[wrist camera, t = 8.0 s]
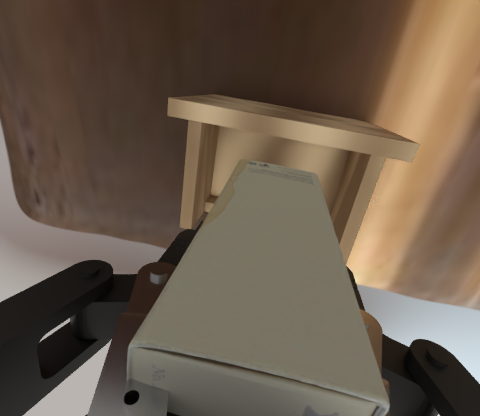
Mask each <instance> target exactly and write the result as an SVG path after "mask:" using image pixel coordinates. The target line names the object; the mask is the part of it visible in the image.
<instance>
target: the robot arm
mask: <svg viewBox="0 0 480 416" xmlns="http://www.w3.org/2000/svg"><path fill="white" fill-rule="evenodd" d="M203 222H204V221H202V222H201V223H200V224H199V226H198V227H197V229H196V230H192V229H187V230H185V231H183V232H181V233H179V234H178V236H177V237H176V238H175V241H173V242H172V244H171V246H169V248H168V249H167V250H166V252H165V253H164V254H163V255H162V257H161V258H160V259H159V261H158V262H154V263H149V264H147V265H145V266H143V267H142V268H141V269H140V270H139V271H138V274H129V275H128V274H123V275H122V274H113V268H112V266H111V265H110V264H108V263H107V262H105V261H101V260H88V261H83V262H80V263H77V264H75V265H73V266H71V267H69V268H67V269H65V270H63V271H61V272H59V273H57V274H55V275H53V276H51V277H49V278H47V279H45V280H43V281H41V282H40V283H37V284H35V285H34V286H32V287H30V288H28V289H26V290H24V291H22V292H20V293H18V294H16V295H14V296H12V297H10V298H8V299H6V300H4V301H2V302H0V416H22V415H24V414H25V413H26V412H27V411H28V410H29V409H31V408H32V407H33V406H34V405H35V404H37V403H38V402H39V401H40V400H41V399H42V398H44V397H45V396H46V395H47V394H48V393H50V392H51V391H52V390H53V389H54V388H55V387H57V386H58V385H59V384H60V383H61V382H62V381H64V380H65V379H66V378H67V377H68V376H70V375H71V374H72V373H73V372H74V371H75V370H77V369H78V368H79V367H80V366H81V365H83V364H84V363H85V362H86V361H87V360H88V359H90V358H91V357H92V356H93V355H94V354H95V353H97V352H98V351H99V350H100V349H101V348H103V347H104V346H105V345H106V344H107V343H108V342H109V341H110V340H111V339H112V341H111V344H110V347H109V350H108V353H107V357H106V360H105V363H104V366H103V369H102V372H101V375H100V378H99V381H98V384H97V387H96V391H95V394H94V397H93V400H92V404H91V406H90V409H89V412H88V414H87V415H85V416H180V415H176V414H173V413H170V412H167V407H168V396H169V391H167V390H163V389H160V388H157V387H154V386H151V385H148V384H145V383H142V382H139V381H137V380H134V379H129V380H126V378H127V355H128V347H129V344H130V342H131V341H132V339H133V337H134V336H135V334H136V332H137V331H138V329H139V328H140V326H141V325H142V323H143V321H144V320H145V318H146V317H147V315H148V314H149V312H150V310H151V309H152V307H153V306H154V304H155V302H156V301H157V299H158V297H159V296H160V294H161V292H162V291H163V289H164V287H165V286H166V284H167V282H168V280H169V279H170V277H171V276H172V274H173V272H174V271H175V269H176V267H177V266H178V264H179V262H180V261H181V259H182V257H183V255H184V254H185V252H186V250H187V249H188V247H189V245H190V244H191V242H192V240H193V239H194V237H195V235H196V234H197V232H198V230H199V229H200V227H201V226H202V224H203ZM346 267H347V266H346ZM347 271H348V274H349V277H350V280H351V284H352V287H353V290H354V293H355V296H356V299H357V302H358V305H359V309H360V312H361V316H362V318H363V321H364V324H365V327H366V331H367V333H368V336H369V340H370V343H371V346H372V349H373V352H374V355H375V358H376V361H377V364H378V367H379V371H380V374H381V378H382V381H383V384H384V387H385V390H386V393H387V396H388V399H389V404H390V407H389V411H388V412H387V414H386V415H385V416H437V415H438V414H439V415H440V416H480V384H479V383H478V382H477V381H476V380H475V378H474V377H472V375H471V374H470V373H469V372H468V371H467V370H466V368H465V367H464V366H463V365H462V364H461V363H460V362H459V361H458V360H457V359H456V357H455V356H454V355H453V354H451V353H450V352H449V351H447V350H446V349H445V348H443V347H442V346H440V345H438V344H436V343H434V342H431V341H429V340H424V339H417V340H414V341H413V342H412V343H411V345H410V347H408V346H405V345H403V344H401V343H399V342H397V341H395V340H393V339H391V338H389V337H387V336H385V335H384V334H382V328H381V326H380V324H379V323H378V321H377V320H376V319H375V318H374V317H373V316H372V315H370V314H369V313H367V312H365V309H364V306H363V303H362V300H361V297H360V294H359V291H358V290H357V285H356V283H355V279H354V276H353V273H352V272H351V270H350V269H349V268H348V267H347ZM68 318H70V322H69V323H67V324H66V325H64V326H63V327H61V328H60V329H58V330H57V331H55V332H54V333H53V334H52V335H50V336H48V337H47V338H45V339H44V340H42V341H41V342H39V341H40V340H41V339H42V337H43V336H44V335H45V334H46V333H48V332H49V331H51V330H52V329H54V328H55V327H57V326H58V325H60V324H61V323H63V322H64V321H66V320H67V319H68Z"/></svg>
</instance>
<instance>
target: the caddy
mask: <svg viewBox="0 0 480 416" xmlns="http://www.w3.org/2000/svg"><path fill="white" fill-rule="evenodd" d="M167 116H171V117H177V118H182V119H187V120H189V122H188V134H187V146H186V158H185V170H184V182H183V194H182V206H181V218H180V227H181V228H186V229H192V228H193V226H194V225H195V223H196V222H197V221H198V219H199V218H200V216H201V215H202V214H203V212H204V211H206V212H210V210H211V208H212V207H213V205H214V203H215V202H216V200H217V198H218V197H219V195H220V193H221V191H222V190H223V188H224V186H225V185H226V183H227V181H228V179H229V178H230V176H231V174H232V173H233V171H234V169H235V167H236V166H237V164H238V162H239V161H240V160H241V159H247V160H253V161H259V162H265V163H270V164H275V165H280V166H285V167H290V168H294V169H299V170H304V171H308V172H313V173H316V174H317V176H318V179H319V182H320V185H321V189H322V192H323V195H324V198H325V201H326V204H327V208H328V211H329V214H330V217H331V220H332V224H333V227H334V231H335V234H336V236H337V239H338V243H339V246H340V249H341V252H342V255H343V258H344V261H345V264H346V263H347V260H348V258H349V255H350V252H351V250H352V247H353V244H354V242H355V239H356V236H357V233H358V231H359V228H360V225H361V223H362V220H363V217H364V215H365V212H366V209H367V207H368V204H369V201H370V199H371V196H372V193H373V191H374V188H375V185H376V183H377V180H378V177H379V175H380V172H381V169H382V167H383V164H384V161H385V159H386V158H392V159H397V160H402V161H407V162H413V159H414V157H415V154H416V152H417V150H418V147H419V145H420V144H418V143H416V142H413V141H411V140H409V139H407V138H404V137H402V136H400V135H397V134H395V133H393V132H391V131H388V130H386V129H384V128H381V127H379V126H377V125H375V124H372V123H370V122H366V121H361V120H355V119H350V118H344V117H339V116H333V115H328V114H322V113H317V112H311V111H306V110H300V109H294V108H289V107H283V106H278V105H272V104H267V103H261V102H256V101H250V100H245V99H239V98H234V97H228V96H223V95H217V94H210V95H197V96H184V97H171V98H168V114H167Z"/></svg>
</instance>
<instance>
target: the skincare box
mask: <svg viewBox="0 0 480 416" xmlns="http://www.w3.org/2000/svg"><path fill="white" fill-rule="evenodd" d="M129 379H134V380H137V381H139V382H142V383H145V384H148V385H151V386H154V387H157V388H160V389H163V390H167V391H169V396H168V407H167V412H170V413H173V414H176V415H180V416H385V415H386V414H387V412H388V411H389V407H390V404H389V399H388V396H387V393H386V390H385V387H384V384H383V381H382V378H381V374H380V371H379V367H378V364H377V361H376V358H375V355H374V352H373V349H372V346H371V343H370V340H369V336H368V333H367V331H366V327H365V324H364V321H363V318H362V316H361V312H360V309H359V305H358V302H357V299H356V296H355V293H354V290H353V287H352V284H351V280H350V277H349V274H348V271H347V267H346V264H345V261H344V258H343V255H342V252H341V249H340V246H339V243H338V239H337V236H336V234H335V231H334V227H333V224H332V220H331V217H330V214H329V211H328V208H327V204H326V201H325V198H324V195H323V192H322V189H321V185H320V182H319V179H318V176H317V174H316V173H313V172H308V171H304V170H299V169H294V168H290V167H285V166H280V165H275V164H270V163H265V162H259V161H253V160H247V159H241V160H240V161H239V162H238V164H237V166H236V167H235V169H234V171H233V173H232V174H231V176H230V178H229V179H228V181H227V183H226V185H225V186H224V188H223V190H222V191H221V193H220V195H219V197H218V198H217V200H216V202H215V203H214V205H213V207H212V208H211V210H210V212H209V213H208V215H207V217H206V219H205V220H204V222H203V224H202V226H201V227H200V229H199V230H198V232H197V234H196V235H195V237H194V239H193V240H192V242H191V244H190V245H189V247H188V249H187V250H186V252H185V254H184V255H183V257H182V259H181V261H180V262H179V264H178V266H177V267H176V269H175V271H174V272H173V274H172V276H171V277H170V279H169V280H168V282H167V284H166V286H165V287H164V289H163V291H162V292H161V294H160V296H159V297H158V299H157V301H156V302H155V304H154V306H153V307H152V309H151V310H150V312H149V314H148V315H147V317H146V318H145V320H144V321H143V323H142V325H141V326H140V328H139V329H138V331H137V332H136V334H135V336H134V337H133V339H132V341H131V342H130V344H129V347H128V355H127V378H126V380H129Z"/></svg>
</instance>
